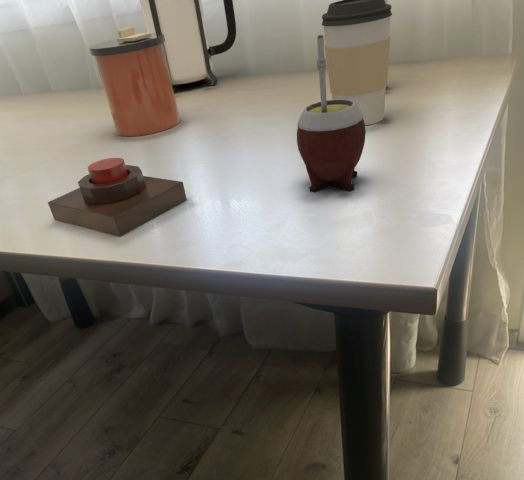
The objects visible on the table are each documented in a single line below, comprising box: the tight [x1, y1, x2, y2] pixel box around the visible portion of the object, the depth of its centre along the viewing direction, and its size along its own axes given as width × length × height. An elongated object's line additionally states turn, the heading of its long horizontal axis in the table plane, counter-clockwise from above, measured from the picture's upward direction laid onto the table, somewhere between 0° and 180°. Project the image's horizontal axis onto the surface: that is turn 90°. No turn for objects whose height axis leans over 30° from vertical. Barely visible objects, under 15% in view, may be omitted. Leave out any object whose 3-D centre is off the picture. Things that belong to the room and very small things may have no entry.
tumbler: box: [88, 33, 181, 137], centre depth 88 cm, size 12×12×13 cm
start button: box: [87, 157, 128, 184], centre depth 58 cm, size 4×4×2 cm
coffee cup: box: [321, 0, 393, 127], centre depth 72 cm, size 9×9×15 cm
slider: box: [116, 26, 152, 42], centre depth 82 cm, size 4×4×2 cm
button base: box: [47, 164, 188, 238], centre depth 60 cm, size 12×10×4 cm
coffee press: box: [139, 0, 237, 93], centre depth 108 cm, size 17×16×30 cm
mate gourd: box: [296, 34, 367, 193], centre depth 53 cm, size 8×8×15 cm
